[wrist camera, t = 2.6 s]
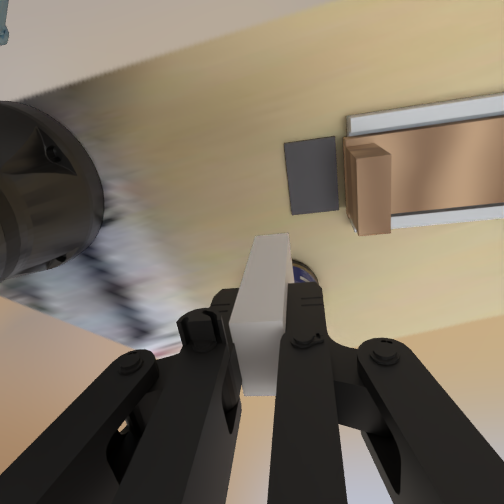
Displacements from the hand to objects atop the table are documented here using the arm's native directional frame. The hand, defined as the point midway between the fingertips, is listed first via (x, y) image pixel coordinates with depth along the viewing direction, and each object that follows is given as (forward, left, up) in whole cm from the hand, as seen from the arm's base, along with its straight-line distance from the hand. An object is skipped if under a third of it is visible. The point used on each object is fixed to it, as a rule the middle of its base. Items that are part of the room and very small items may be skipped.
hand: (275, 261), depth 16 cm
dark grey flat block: (+2, +1, -15) cm, 15 cm away
